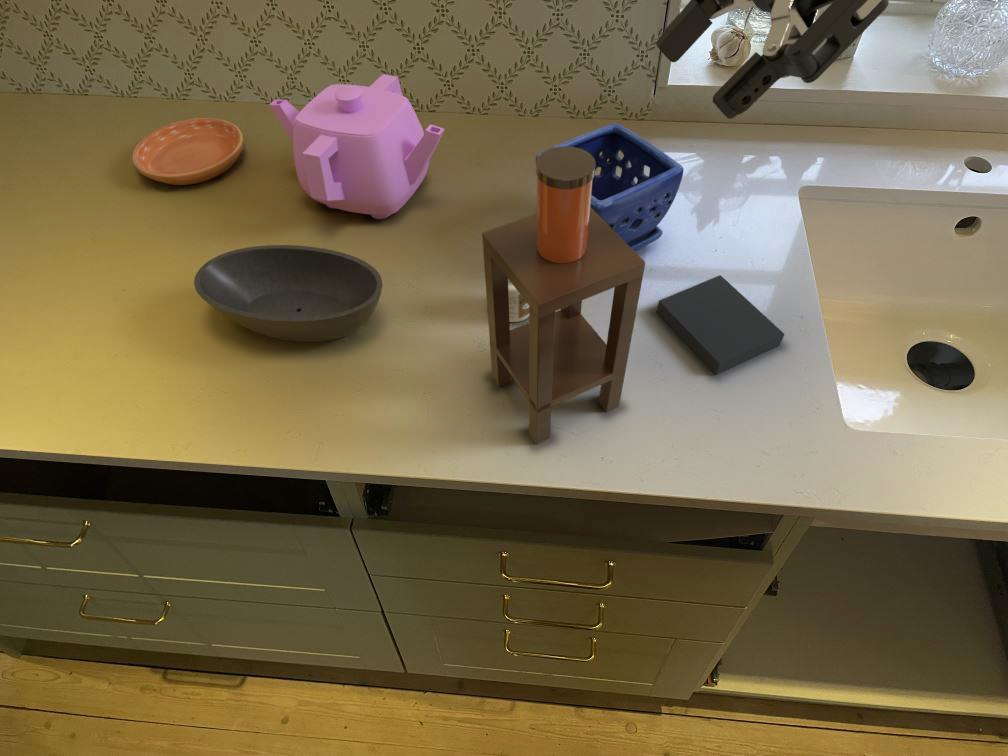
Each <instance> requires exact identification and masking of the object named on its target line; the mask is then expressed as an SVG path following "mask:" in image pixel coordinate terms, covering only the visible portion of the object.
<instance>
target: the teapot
mask: <svg viewBox="0 0 1008 756" xmlns="http://www.w3.org/2000/svg"><path fill="white" fill-rule="evenodd" d="M402 92H403V91H402V88H401V84H400V80H399V77H398V76H396V75H391V74H385V73H382V74H381V75H380V76H379V77H378V78H376V80H375V81H374V82H373V83H372V84H371V85H369V86H365V85H358V84H348V83H347V84H346V83H338V84H337V83H336V84H331V85H330V84H329V86H327V87H326V88H324V89H323V90H321V92H319V93H318V94H317V95H316V96H315V97H314V98H313V99H311V100H310V101H309V102H308V103H307V104H306V105H305V106H304V107H303V108H302V109H301V110H300V111H299V110H298V108H296V107H295V106H293V105H292V104H291V103H290V102H289V101H288V99H279V98H278V99H277V98H276V99H274V100H273V101H272V102H271V103H269V104H268V105H269V107H270V110H271V111H272V112H273V114H274V115H275V117H276V119H277V120H278V121H279V123H280V124H281V126H282V128H283V129H284V131H285V132H286V133H287V135H288V137H289V138H290V140H291V142H292V143H293V144H292V145H293V147H292V149H293V160H294V166H295V171H296V177H297V179H298V182H299V184H300V187H302V189H303V191H304V192H305V193H306V194H307V195H308V196H309V197H310V198H312V199H313V200H314V201H316V202H318V203H321V204H323V205H325V206H326V207H327V208H329V209H338V210H341V211H345V212H350V213H357V214H364V215H370V216H371V217H372V219H377V220H382V219H387V218H388V217H390V216H391V215H393V214H395V213H397V212H398V211H400V210H401V209H402V207H403V206H404V205H405V204H407V202H408V201H409V200H410V199H411V198H412V196H413V195H414V194H415V192H416V191H417V190H418V188H419V187H420V185H421V184H422V183H423V181H424V179H425V178H426V175H427V172H428V169H429V165H430V161H431V158H432V156H433V154H434V152H435V150H436V148H437V146H438V144H439V142H440V140H441V138H442V137H443V135H444V133H445V128H444V127H440V126H437V125H435V124H431V123H430V124H429V125H428V127H426V129H425V131H424V129H423V126H422V124H421V121H420V120H419V118H418V116H417V113H416V112H415V111H416V110H414V107H413V105H412V104H411V102H410V100H409V98H408V97H406V96H405V95H403V93H402Z"/></svg>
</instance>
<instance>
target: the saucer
mask: <svg viewBox="0 0 1008 756" xmlns="http://www.w3.org/2000/svg"><path fill="white" fill-rule="evenodd" d="M244 144H245V143H244V136H243V133H242V131H241V130H240V128H239V127H238V126H237V125H235V124H234V123H232V122H230V121H227V120H224V119H220V118H214V117H213V118H211V117H198V118H190V119H185V120H180V121H175V122H173V123H170V124H167V125H164V126H162V127H160V128H158V129H156V130H154V131H153V132H151V133H148V135H146V136H145V137H143V138H142V139H141V140H140V141H139V143H138V144H137V145H136V146H135V147H134V149H133V152H132V156H131V157H132V158H131V159H132V163H133V165H134V167H135V168H136V169H137V171H138V172H139V173H140V174H141V175H143V176H145V177H147V178H148V179H151V180H153V181H156V182H158V183H163V184H167V185H173V186H189V185H195V184H199V183H200V184H201V183H204V182H207V181H210V180H212V179H215V178H217V177H219V176H221V175H222V174H224V173H225V172H227V171H228V170H229V169H230V168H231V167H232V166H233V165H234V164H235V162H236V161H237V159H239V157H240V155H241V153H242V151H243V148H244Z"/></svg>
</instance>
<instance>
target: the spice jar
mask: <svg viewBox="0 0 1008 756" xmlns="http://www.w3.org/2000/svg"><path fill="white" fill-rule="evenodd" d="M550 148H551V147H550ZM548 149H549V148H548ZM545 150H546V149H545ZM595 164H596V163H595V160H594V158H593V156H592V155H591V154H590V153H588V152H587V151H585V150H582V149H580V148H576V147H567V146H564V147H555V148H551V149H549V150H546V151H545V152H543V153H542V154H540V156H539V157H538V158H537V161H536V160H535V175H536V214H537V251H538V253H539V254H540V255H541V256H542V257H543V258H544V259H546V260H548V261H551V262H554V263H570V262H574V261H576V260H578V259H580V258H581V257H582V256H583V255H584V254H585V252H586V249H587V240H588V229H589V217H590V206H591V195H592V183H593V177H594V175H596V174H595V173H596V171H595Z"/></svg>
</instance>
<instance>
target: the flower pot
mask: <svg viewBox="0 0 1008 756" xmlns="http://www.w3.org/2000/svg"><path fill="white" fill-rule="evenodd" d="M564 146H567V147H576V148H580V149H582V150H585V151H587V152H588V153H590V154H591V155H592V156H593V158H594V160H595V163H596V164H595V172H596V171H597V169H598V168H600V173H599V174H594V177H593V183H592V195H591V206H590V207H591V208H592V209H593V210H594V211H595V212H596V213H597V214H598V215H599V216H600V217H601V218H602V219H603V220H604V221H605V222H606V223H607V224H608V225H609V226H610V227H611V228H612V229H613V230H614V231H615V232H616V233H617V234H618V235H619V236H620V237H621V238H622V239H623V240H624V241H625V242H626V243H627V244H628V245H629V246H630V247H631V248H632V249H633V250H634V251H635V252H636V251H637V250H640V249H642V248H644V247H646V246H648V245H650V244H652V243H654V242H655V241H657V240H658V239H660V237H662V235H663V230H662V229H661V228H660V227H658V225H659V224H660V223H661V222H662V221H663V219H664V218H665V217H666V215H667V213H668V212H669V210H670V208H671V206H672V205H673V203H674V201H675V200H676V196H677V194H678V192H679V189H680V186H681V183H682V181H683V176H684V167H683V166H682V164H680V163H679V162H677V160H675V159H673V158H672V157H670V156H669V155H668V154H666V153H665V152H664V151H663V150H661V149H659V148H658V147H657V146H655V145H653V144H652V143H651V142H649V141H648V140H646V139H644V138H643V137H641V136H639V135H638V134H637V133H635V132H633V131H632V130H630V129H629V128H627V127H625V126H623V125H621V124H619V123H615V122H614V123H610V124H608V125H604V126H602V127H598V128H597V129H593V130H591V131H588V132H586V133H582V134H580V135H578V136H576V137H573V138H571V139H569V140H566V141H564V142H561V143H558V144H556V145H554V146H551V147H548V148H546V149H544V150H542V151H540V152H539V153H537V154H536V156H535V162H536V161H537V158H538V157H539V156H540V154H542V153H543V152H545V151H546V150H549V149H551V148H555V147H564ZM619 152H621V153H622V155H623V157H622V158H621V157H620V156H619ZM600 154H601V155H600ZM629 163H630V164H629ZM618 167H619V168H620V169H621V174H620V176H619V175H617V168H618ZM645 167H648V168H649V174H648V175H646V173H645ZM635 178H636V180H637V181H635Z"/></svg>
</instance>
